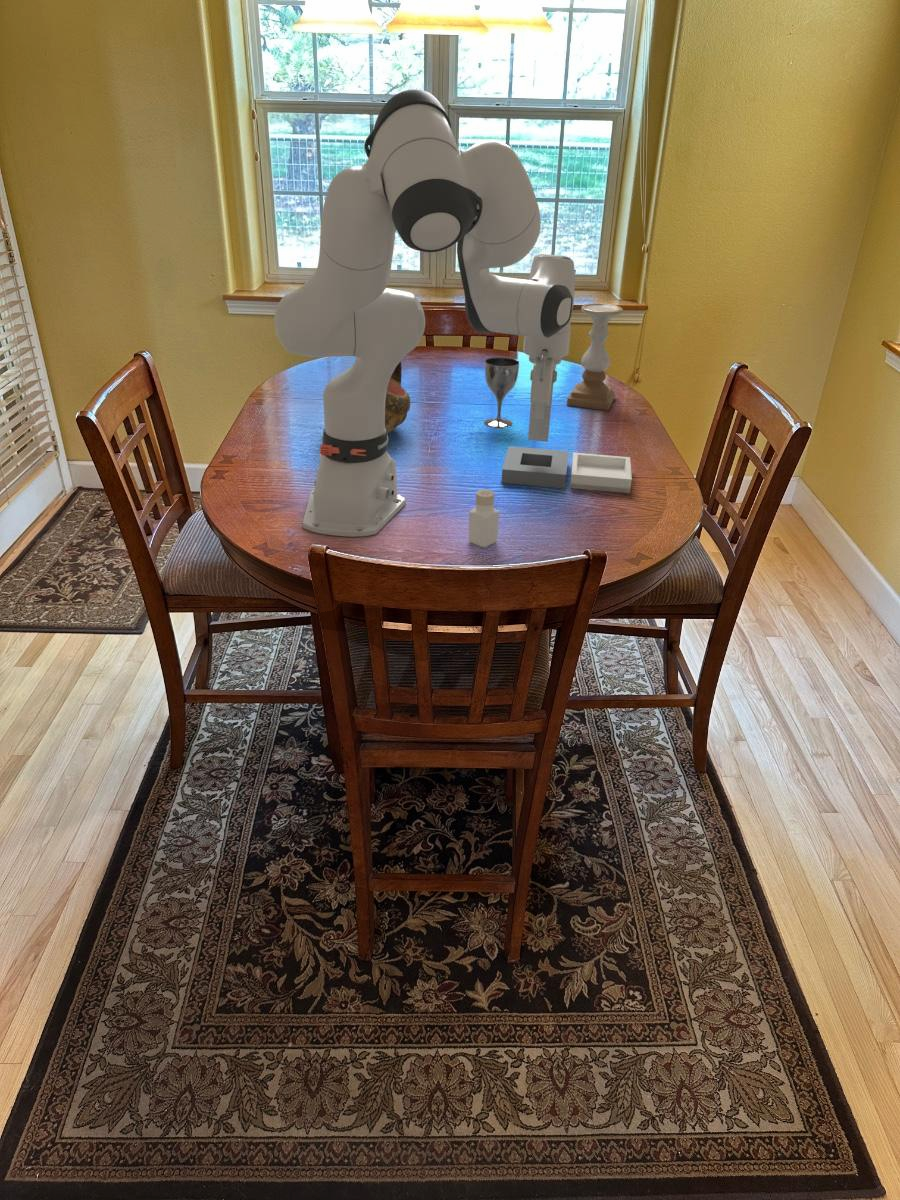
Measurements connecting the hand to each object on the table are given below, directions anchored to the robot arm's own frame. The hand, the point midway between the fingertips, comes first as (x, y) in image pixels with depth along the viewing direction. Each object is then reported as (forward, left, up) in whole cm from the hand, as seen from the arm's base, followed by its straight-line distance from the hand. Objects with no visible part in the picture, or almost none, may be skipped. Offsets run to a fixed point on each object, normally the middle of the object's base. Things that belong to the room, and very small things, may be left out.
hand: (540, 413), depth 162 cm
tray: (0, -13, -13) cm, 19 cm away
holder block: (0, 0, -13) cm, 13 cm away
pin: (0, 0, -5) cm, 5 cm away
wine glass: (+29, +11, -13) cm, 34 cm away
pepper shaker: (-33, +7, -13) cm, 36 cm away
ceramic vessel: (+14, +39, -13) cm, 44 cm away
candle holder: (+51, -11, -13) cm, 54 cm away
